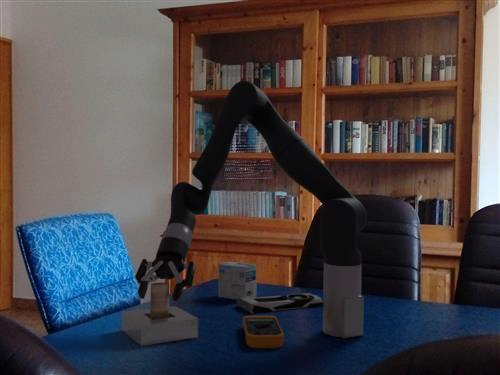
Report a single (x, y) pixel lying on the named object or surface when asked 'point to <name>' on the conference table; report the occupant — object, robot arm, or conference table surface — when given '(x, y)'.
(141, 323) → the grey square socket block
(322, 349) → the conference table surface
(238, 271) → the light bulb box
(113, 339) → the conference table surface
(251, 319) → the multimeter
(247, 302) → the graphics card
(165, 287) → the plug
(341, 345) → the conference table surface
